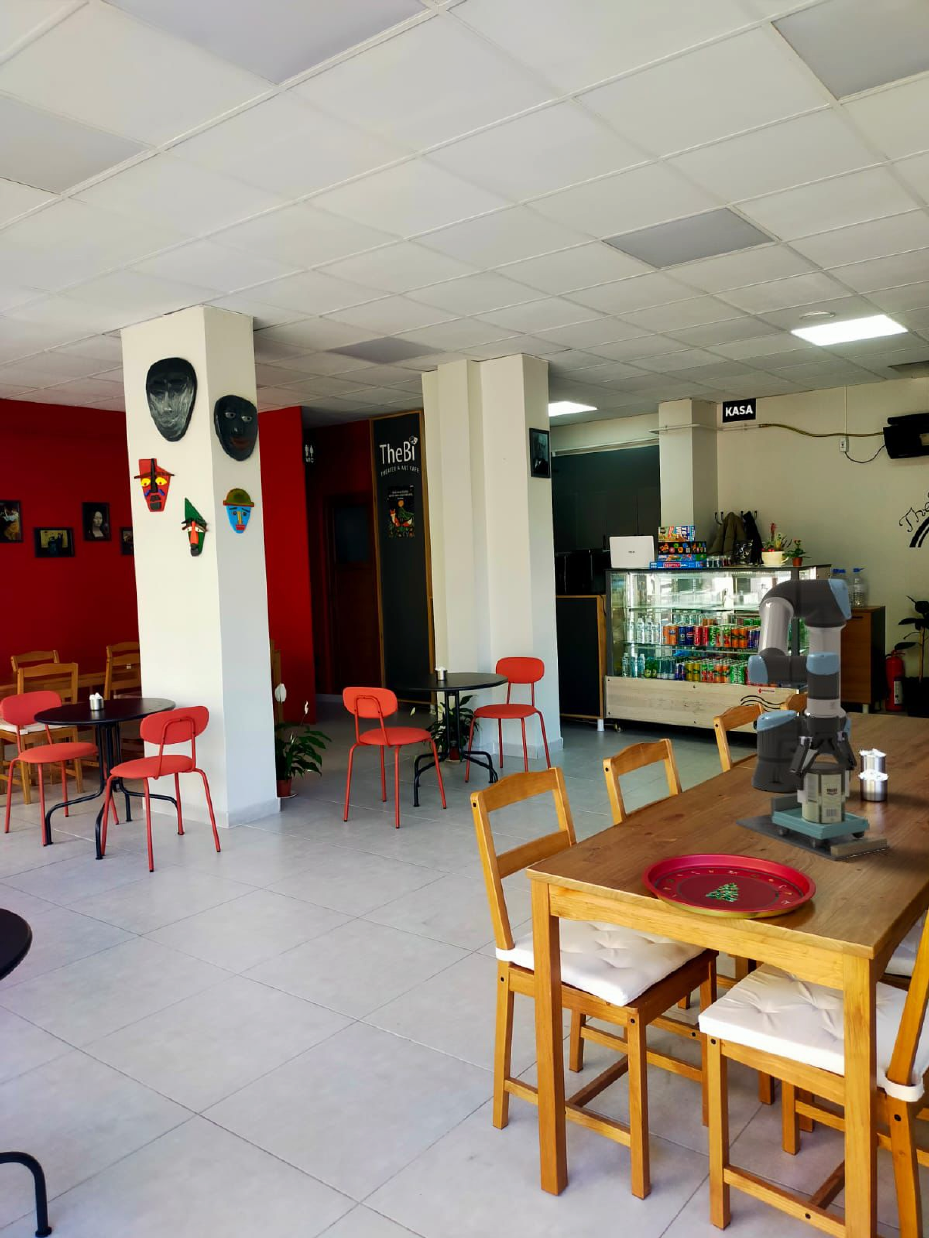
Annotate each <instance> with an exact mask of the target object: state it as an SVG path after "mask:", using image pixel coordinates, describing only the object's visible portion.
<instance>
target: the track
mask: <svg viewBox="0 0 929 1238" xmlns="http://www.w3.org/2000/svg"><path fill="white" fill-rule="evenodd" d="M734 822H735V823H734V824H735V825H737V826H741V827H743V828H746V829H749V830H751V831H754V832H757V833H760V834H762V835H765V836H767V837H770V838H773V839H775V840H778V841H781V842H783V843H786V844H789V845H790V846H794V847H797V848H799V849H802V850H805V851H807V852H810V853H812V854H815V855H818V856H820V857H823V858H826V859H829V860H831V859H832V860H831V861H833V860H836V861H839V860H838V859H841V860H845V859H844V858H846V859H848V858H847V857H850V856H853V855H859V854H864V853H867V852H874V851H877V850H882V849H888V850H890V849H891V845H889V844H888V837H885V836H882V835H879V836H874V837H866V836H863V837H861V838H855V837H854V836H853V835H852V833H851V834H846V835H841V836H836V837H831V838H826V839H823V844H822V845H821V846H817V847H815V846H813V845H812V844H811V842H810V836H809V835H807V834H804V833H801V832H798V831H795V830H792V829H790V831H789V833H788V834H780V833H779V832H778V830H777V824H776V823H773V822H772V820H771V813H770V814H769V813H768V814H765V815H764V814H763V815H758V816H754V817H753V816H752V817H747V818H742V819H737V820H735V821H734ZM889 848H890V849H889ZM874 853H875V852H874ZM864 855H865V854H864ZM850 858H851V857H850Z"/></svg>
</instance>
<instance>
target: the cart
mask: <svg viewBox="0 0 929 1238" xmlns="http://www.w3.org/2000/svg"><path fill="white" fill-rule="evenodd" d="M770 814H771V820H772V822H773V823H776V824H777V830H778V832H779V833H780V834H788V833H789V831H790V829H792V830H795V831H798V832H801V833H804V834H807V835H809V836H810V842H811V844H812V845H813V846H815V847H817V846H821V845H822V844H823V839H826V838H831V837H836V836H841V835H846V834H851V833H852V835H853V836H854V837H855V838H861V837H865V834H866V831H869V830H870V825H871V824H870V823H869V818H865V817H862V816H860V815H855V814H852V813H849V812H846V811H845V820H846V821H843V822H838V823H833V824H828V825H822V826H819V825H816V824H813V823H810V822H807V821H805V820H802V803H800V802H798V792H794V793H788V794H783V795H778V796H776V795H775V796H771V797H770Z"/></svg>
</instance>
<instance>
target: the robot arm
mask: <svg viewBox="0 0 929 1238" xmlns="http://www.w3.org/2000/svg"><path fill="white" fill-rule="evenodd" d="M851 611H852V610H851V603H850V595H849V591H848V585H847V582H846V581H845V580H844V579H837V578H809V579H788V580H784V581H781V582H779V583H777V584H776V585H774V586H773V587H771V588H770V589H769V590H768V591H766V593H765V594H764V595H763V597H762V599H761V601H760V603H759V607H758V616H759V617H760V620H761V621H760V629H759V630H760V633H759V642H758V649H757V650H758V651H757V654H756V655H751V656H749V658H748V663H747V668H748V669H747V671H748V672H747V673H748V674H747V675H748V676H747V677H748V680H749V682H750V683H751V684H759V685H765V686H767V685H797V686H807V687H806V688H807V690H806V691H807V695H806V708H805V710H804V715H798V713H797V711H796V710H793V709H792V710H791V709H790V710H789V709H783V710H782V709H781V710H773V711H767V712H765V713H762V714H760V715H759V716H758V718H757V719H756V721H757V722H756V724H757V725H756V735H757V740H756V746H757V748H756V751H757V752H756V753H757V754H756V755H757V758H756V760H757V761H756V764H755V768H754V772H753V774H752V776H751V786H752V787H753V788H755V789H758V790H762V791H765V790H767V792H773V793H791V792H797V793H798V802H800V803H803V804H808V778H807V777H805V776H806V774H807V773H808V771H809V769H810V767H811V766H812V764H813V762H814V761H816V759H817V757H819V756H825V757H827V756H828V757H833V758H834V759H835V761H836V763H839V764H842V765H844V766H845V767H846V770H845V798H846V797H847V798H848V797H850V783H851V777H852V776H851V773H852V772H851V771H855V767H857V766H858V762H857V760H856V756H855V754H854V751H853V750H852V747H851V744H850V738H851V728H852V719H851V717H848V716H847V712H846V711H845V710H844V709H843V708H842V707H841V631H842V629H843V628H844V627H846V625H847V620H850V619H851V618H852V612H851ZM792 619H794V620H795V619H799V620H803V626H804V627H805V628H806V629H808V634H809V636H808V639H809V641H808V644H809V646H808V647H809V648H808V649H809V650H808V651H809V653H808V655H788V652H789V649H788V647H789V633H790V622H791V620H792Z"/></svg>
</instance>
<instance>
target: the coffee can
mask: <svg viewBox="0 0 929 1238" xmlns="http://www.w3.org/2000/svg"><path fill="white" fill-rule="evenodd" d="M845 770H846V767H845V766H844V765H842V764H839V763H838V762H833V761H824V760H823V761H819V760H818V761H817V760H815V761H814V762H813V764H812V766H811V767H810V769H809V771H808V773H807V774H806V776H805V777H807V778H808V804H803V803H802V820H805V821H807V822H810V823H813V824H816V825H819V826H822V825H828V824H833V823H838V822H843V821H846V820H845V812H846V796H845Z"/></svg>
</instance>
